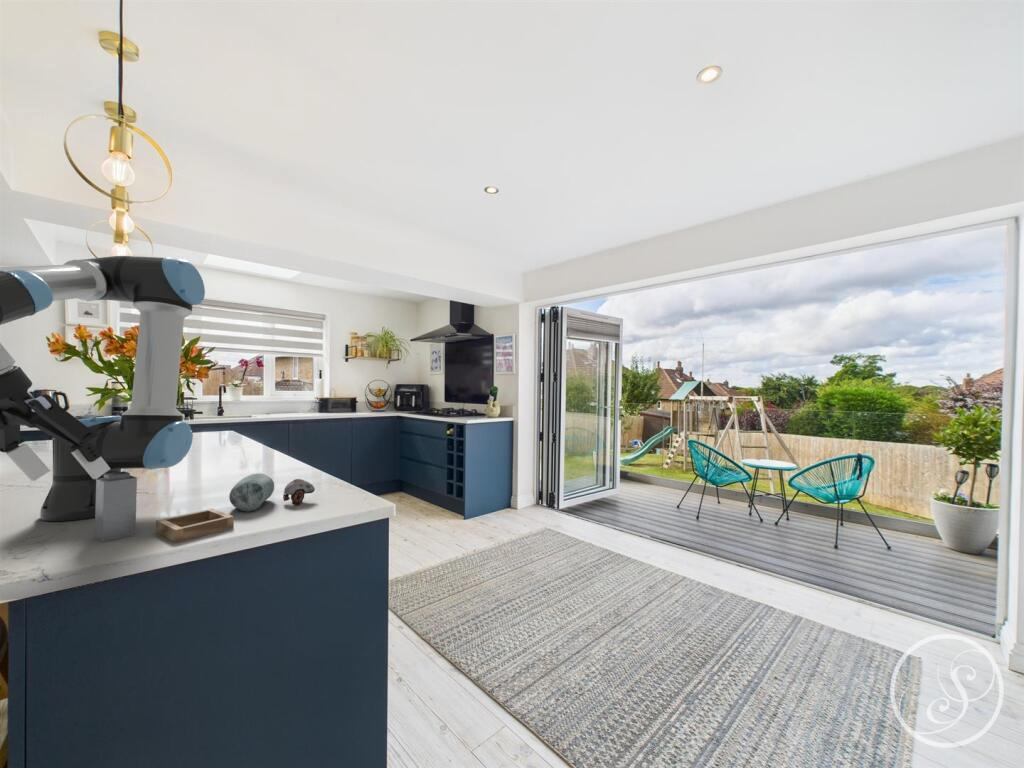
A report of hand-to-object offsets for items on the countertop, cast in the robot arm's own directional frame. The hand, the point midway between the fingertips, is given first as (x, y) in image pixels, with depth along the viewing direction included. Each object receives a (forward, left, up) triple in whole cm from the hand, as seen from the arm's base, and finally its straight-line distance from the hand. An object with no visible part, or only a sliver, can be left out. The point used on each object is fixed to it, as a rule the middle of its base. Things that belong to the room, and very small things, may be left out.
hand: (71, 475), depth 75 cm
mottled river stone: (-27, +21, -15) cm, 37 cm away
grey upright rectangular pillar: (-9, +2, -15) cm, 17 cm away
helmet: (-28, +32, -15) cm, 45 cm away
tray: (-10, +16, -15) cm, 24 cm away
